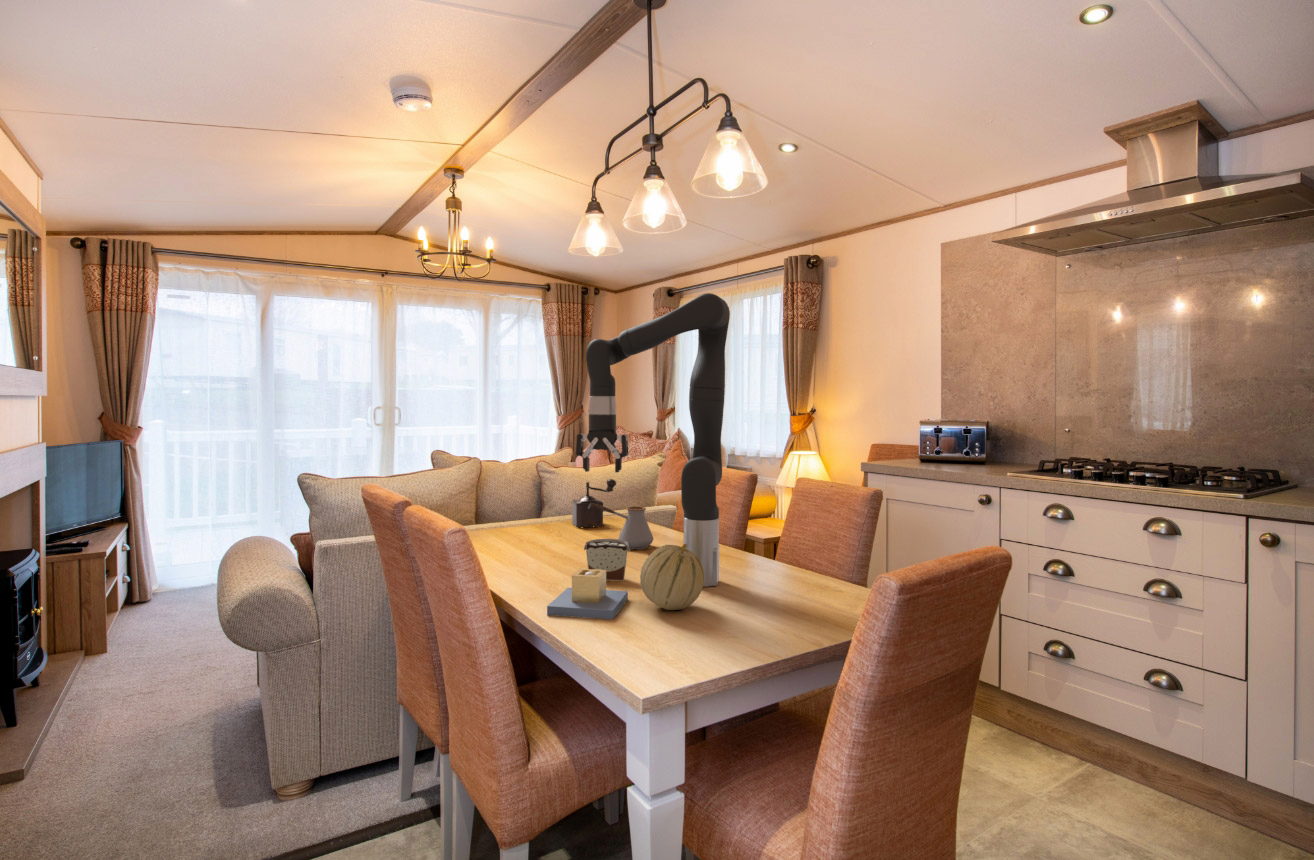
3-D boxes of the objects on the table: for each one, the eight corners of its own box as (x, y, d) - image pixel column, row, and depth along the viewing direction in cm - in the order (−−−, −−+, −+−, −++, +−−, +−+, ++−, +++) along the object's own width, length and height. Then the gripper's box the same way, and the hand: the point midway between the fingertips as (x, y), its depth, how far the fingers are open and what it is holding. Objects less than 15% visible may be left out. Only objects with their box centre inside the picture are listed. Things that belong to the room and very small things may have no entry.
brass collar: (606, 595, 157) (606, 570, 156) (599, 603, 150) (599, 577, 150) (579, 593, 158) (579, 568, 158) (571, 601, 152) (571, 575, 151)
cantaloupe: (630, 602, 158) (631, 539, 157) (686, 596, 164) (687, 535, 163) (655, 622, 144) (656, 553, 144) (715, 614, 150) (716, 548, 149)
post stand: (627, 599, 160) (628, 565, 160) (612, 619, 146) (612, 582, 145) (567, 595, 163) (567, 562, 163) (547, 614, 148) (547, 578, 148)
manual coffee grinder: (576, 528, 248) (576, 480, 247) (571, 523, 258) (571, 477, 257) (617, 526, 252) (617, 479, 251) (610, 521, 263) (610, 476, 262)
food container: (632, 575, 183) (632, 539, 182) (629, 581, 176) (629, 543, 176) (588, 573, 184) (588, 537, 183) (583, 579, 178) (583, 542, 177)
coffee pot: (649, 542, 224) (650, 498, 224) (656, 550, 213) (657, 503, 212) (586, 545, 220) (586, 499, 219) (589, 552, 209) (590, 505, 208)
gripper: (630, 413, 185) (630, 471, 186) (581, 412, 188) (581, 469, 188) (624, 413, 178) (624, 474, 178) (573, 412, 180) (573, 472, 181)
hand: (602, 471), depth 183 cm, fingers open, 8 cm apart
